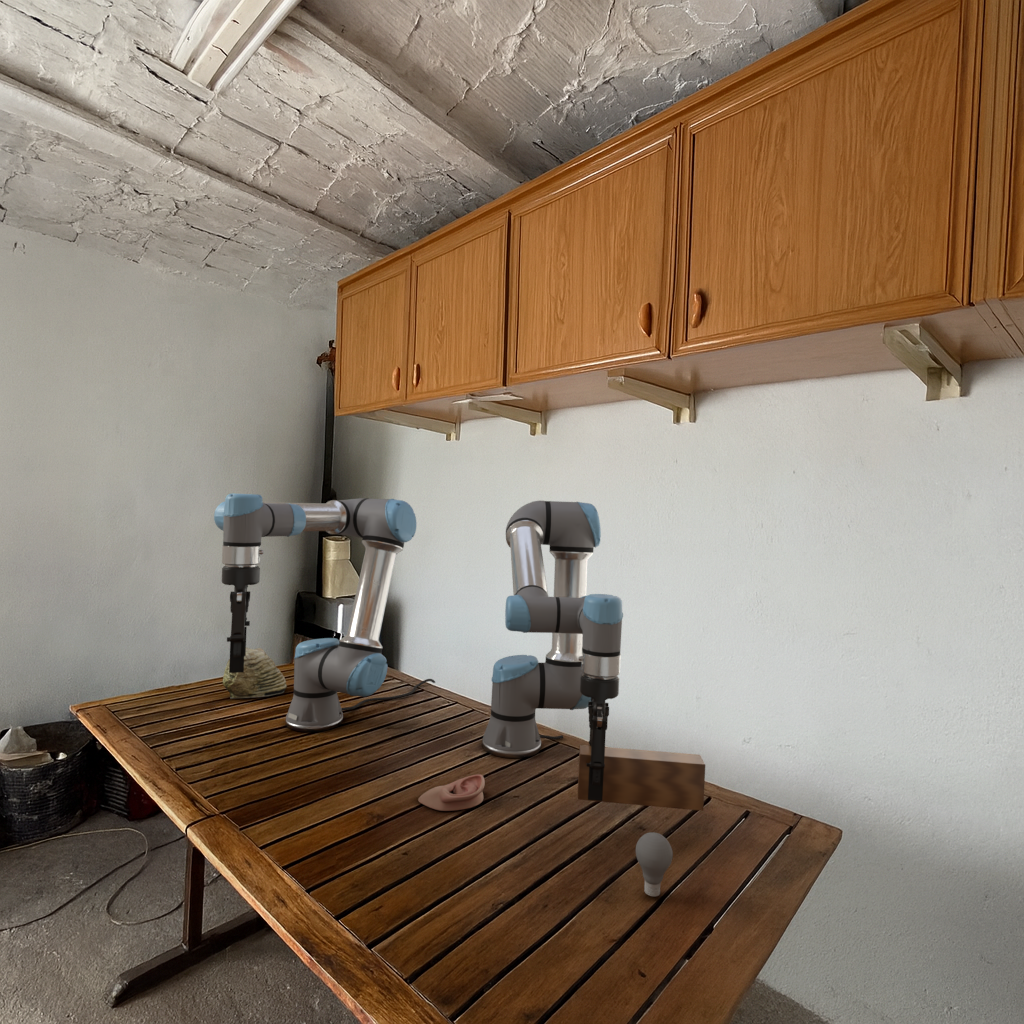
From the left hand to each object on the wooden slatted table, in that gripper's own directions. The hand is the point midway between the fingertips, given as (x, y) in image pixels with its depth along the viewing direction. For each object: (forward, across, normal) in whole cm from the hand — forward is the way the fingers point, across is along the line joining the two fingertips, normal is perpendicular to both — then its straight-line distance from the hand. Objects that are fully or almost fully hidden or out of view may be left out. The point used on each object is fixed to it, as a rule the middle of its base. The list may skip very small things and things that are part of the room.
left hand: (237, 663), depth 136 cm
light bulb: (+27, -60, -66) cm, 93 cm away
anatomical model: (+27, -19, -44) cm, 54 cm away
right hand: (+19, -40, -66) cm, 79 cm away
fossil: (+27, +64, -3) cm, 70 cm away
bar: (+19, -44, -74) cm, 88 cm away
